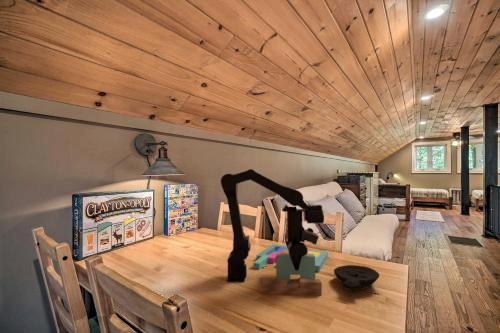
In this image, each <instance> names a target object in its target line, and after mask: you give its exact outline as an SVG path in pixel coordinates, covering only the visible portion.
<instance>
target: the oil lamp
mask: <svg viewBox="0 0 500 333" xmlns="http://www.w3.org/2000/svg"><path fill="white" fill-rule="evenodd" d="M333 273H334V275H335V277H336V278H337V279H338V280H339V281H340V282H341V283H340V285H341V286H342V287H343V288H345V289H347V291H351V292H355V291H359V290H364V289H367V288H369V287H372V285H374V283H375V282H377V280H378V278H380V273H379V272H378V271H377V270H375V269H373V268H371V267H368V266H361V265H354V264H353V265H352V264H351V265H350V264H347V265H341V266H337V267H335V268H334V269H333Z"/></svg>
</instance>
